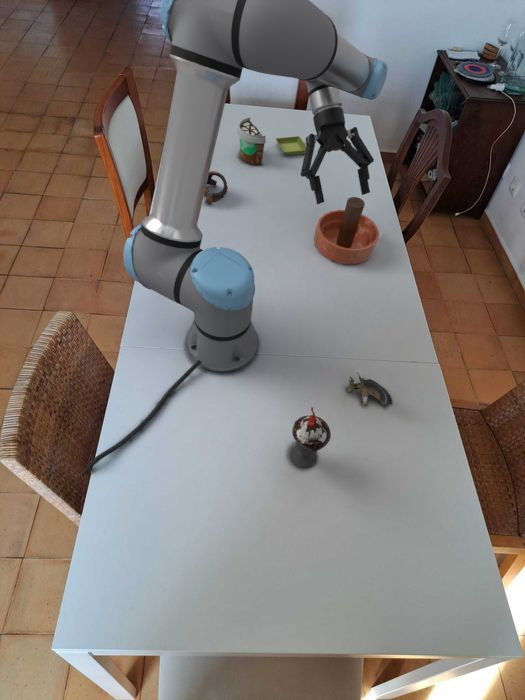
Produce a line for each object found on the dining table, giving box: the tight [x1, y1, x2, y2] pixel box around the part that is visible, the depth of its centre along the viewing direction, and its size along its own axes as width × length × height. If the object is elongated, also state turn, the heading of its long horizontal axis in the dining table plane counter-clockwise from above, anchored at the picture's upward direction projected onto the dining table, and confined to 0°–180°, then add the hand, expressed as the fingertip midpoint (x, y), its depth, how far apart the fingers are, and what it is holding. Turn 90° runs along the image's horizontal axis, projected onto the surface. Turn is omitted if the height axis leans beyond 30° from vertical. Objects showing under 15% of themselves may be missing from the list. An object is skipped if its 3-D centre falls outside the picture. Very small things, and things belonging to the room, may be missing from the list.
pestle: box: [336, 196, 366, 248], centre depth 118 cm, size 4×4×13 cm
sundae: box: [289, 406, 332, 469], centre depth 81 cm, size 7×7×15 cm
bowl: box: [313, 209, 380, 265], centre depth 122 cm, size 16×16×6 cm
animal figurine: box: [347, 368, 393, 407], centre depth 93 cm, size 8×7×9 cm
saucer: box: [275, 135, 306, 156], centre depth 150 cm, size 9×9×2 cm
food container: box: [236, 117, 267, 166], centre depth 141 cm, size 12×6×10 cm, turn 25°
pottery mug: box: [204, 170, 229, 206], centre depth 130 cm, size 12×10×8 cm
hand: (343, 198), depth 117 cm, fingers open, 13 cm apart
